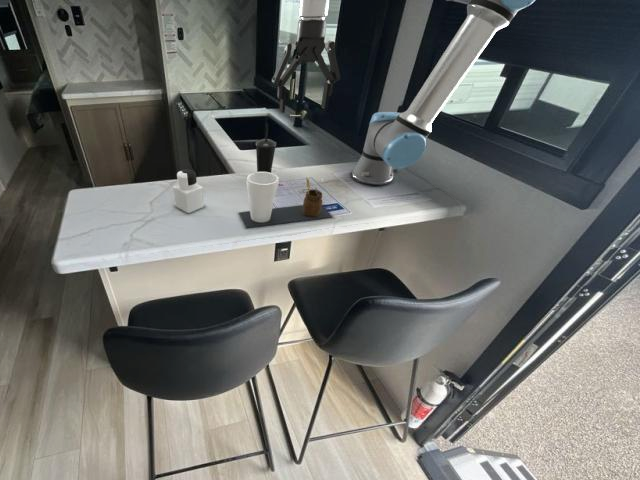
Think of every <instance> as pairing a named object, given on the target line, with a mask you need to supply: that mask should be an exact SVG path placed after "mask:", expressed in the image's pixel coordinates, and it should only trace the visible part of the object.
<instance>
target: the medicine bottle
mask: <svg viewBox="0 0 640 480" xmlns="http://www.w3.org/2000/svg"><path fill="white" fill-rule="evenodd" d="M176 178H177V179H176V180H177V184H176V185H174V186H173V187H172V190H173V195H174V196H173V197H174V203H175V207H176V208H178V209H179V210H181V211H183V212H185V213H187V214H191V213H193V212H195V211H197V210H200V209H202V208H205V197H204V187H203V186H201V185H200V184H198V181H197V172H196V171H195V170H194V169H193V170H192V169H185V168H184V169H181V170H179V171H178V172H177V173H176Z"/></svg>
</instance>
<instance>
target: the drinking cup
mask: <svg viewBox="0 0 640 480" xmlns="http://www.w3.org/2000/svg"><path fill="white" fill-rule="evenodd" d="M268 130H269V124H268V123H265V135H264V138H262V139H259V140H257V141H255V143H254V144H255V151H256V153H255V154H256V172H269V173H272V171H273V170H272V169H273V163H274V156H275V152H276V147H277V142H276V141H274V140H272V139H270V138H268Z"/></svg>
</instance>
